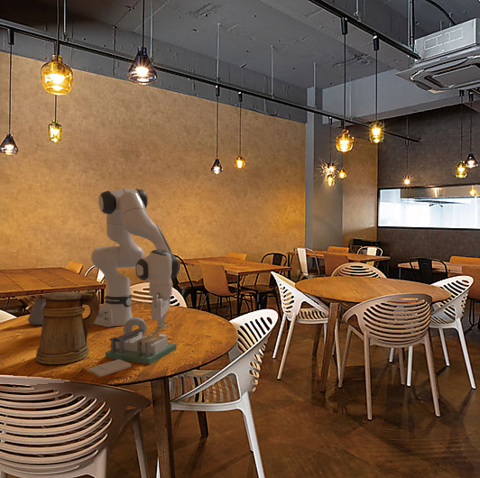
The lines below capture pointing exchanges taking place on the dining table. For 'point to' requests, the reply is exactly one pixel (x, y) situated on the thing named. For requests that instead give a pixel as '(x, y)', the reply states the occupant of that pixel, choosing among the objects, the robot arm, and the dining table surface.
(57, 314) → the tankard
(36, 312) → the coffee pot
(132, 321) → the donut
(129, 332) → the dark grey long bar
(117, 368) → the external hard drive
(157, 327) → the strap brass
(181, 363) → the dining table surface
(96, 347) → the dining table surface
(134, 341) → the board
